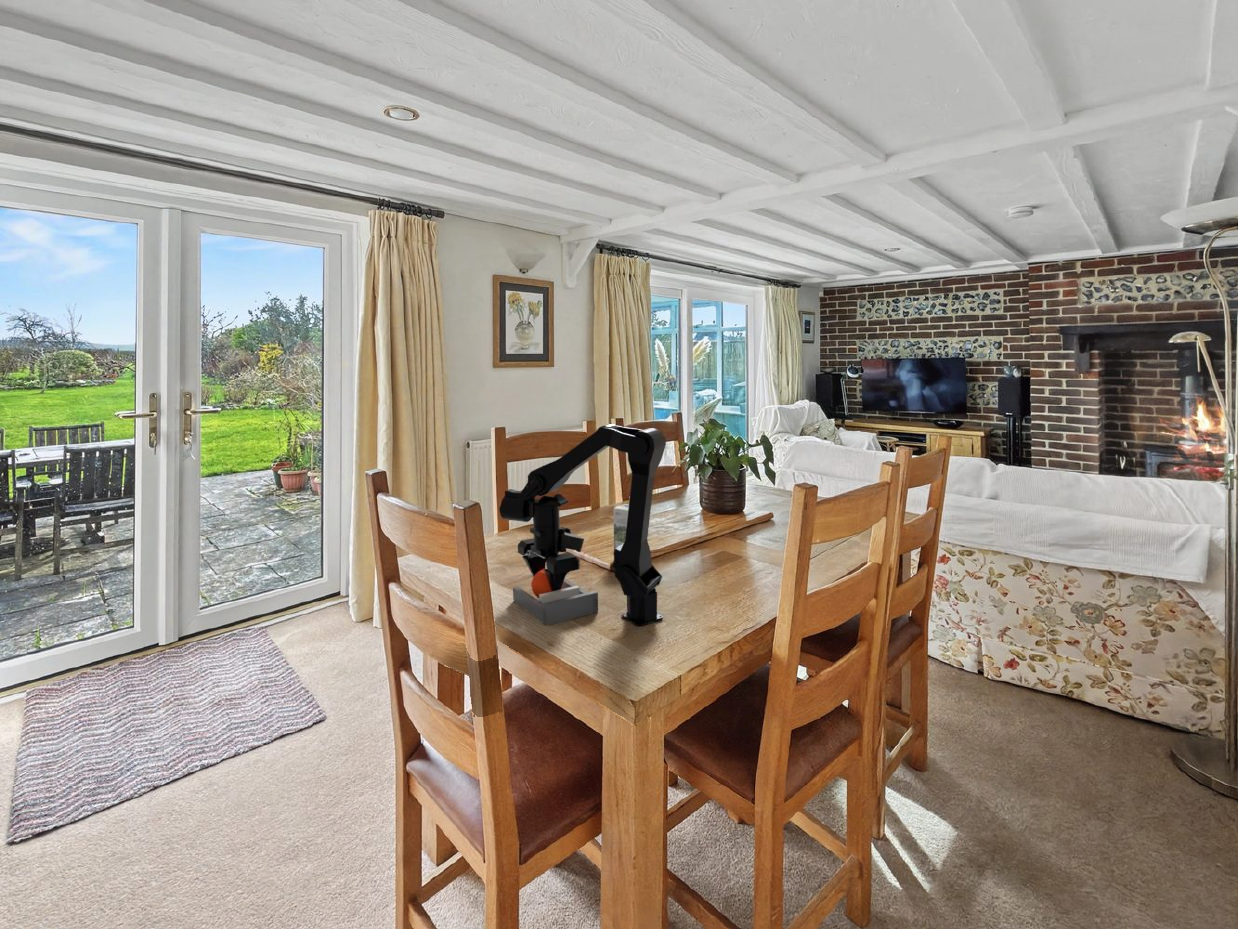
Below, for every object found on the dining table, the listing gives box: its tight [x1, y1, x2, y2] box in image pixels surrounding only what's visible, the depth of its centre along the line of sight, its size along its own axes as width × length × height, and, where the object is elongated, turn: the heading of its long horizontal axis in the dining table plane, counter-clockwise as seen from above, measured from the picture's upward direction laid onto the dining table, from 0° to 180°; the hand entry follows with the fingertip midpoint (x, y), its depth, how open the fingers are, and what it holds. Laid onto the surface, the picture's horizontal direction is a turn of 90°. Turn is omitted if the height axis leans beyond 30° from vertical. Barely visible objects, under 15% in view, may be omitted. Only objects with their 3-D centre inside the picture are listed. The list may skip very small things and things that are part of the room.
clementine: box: [531, 568, 563, 599], centre depth 139 cm, size 8×7×7 cm
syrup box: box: [613, 503, 629, 550], centre depth 168 cm, size 6×6×14 cm
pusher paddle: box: [538, 585, 581, 603], centre depth 135 cm, size 1×9×4 cm, turn 124°
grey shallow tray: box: [512, 578, 599, 627], centre depth 137 cm, size 16×12×4 cm
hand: (548, 591), depth 139 cm, fingers closed on clementine, 7 cm apart
